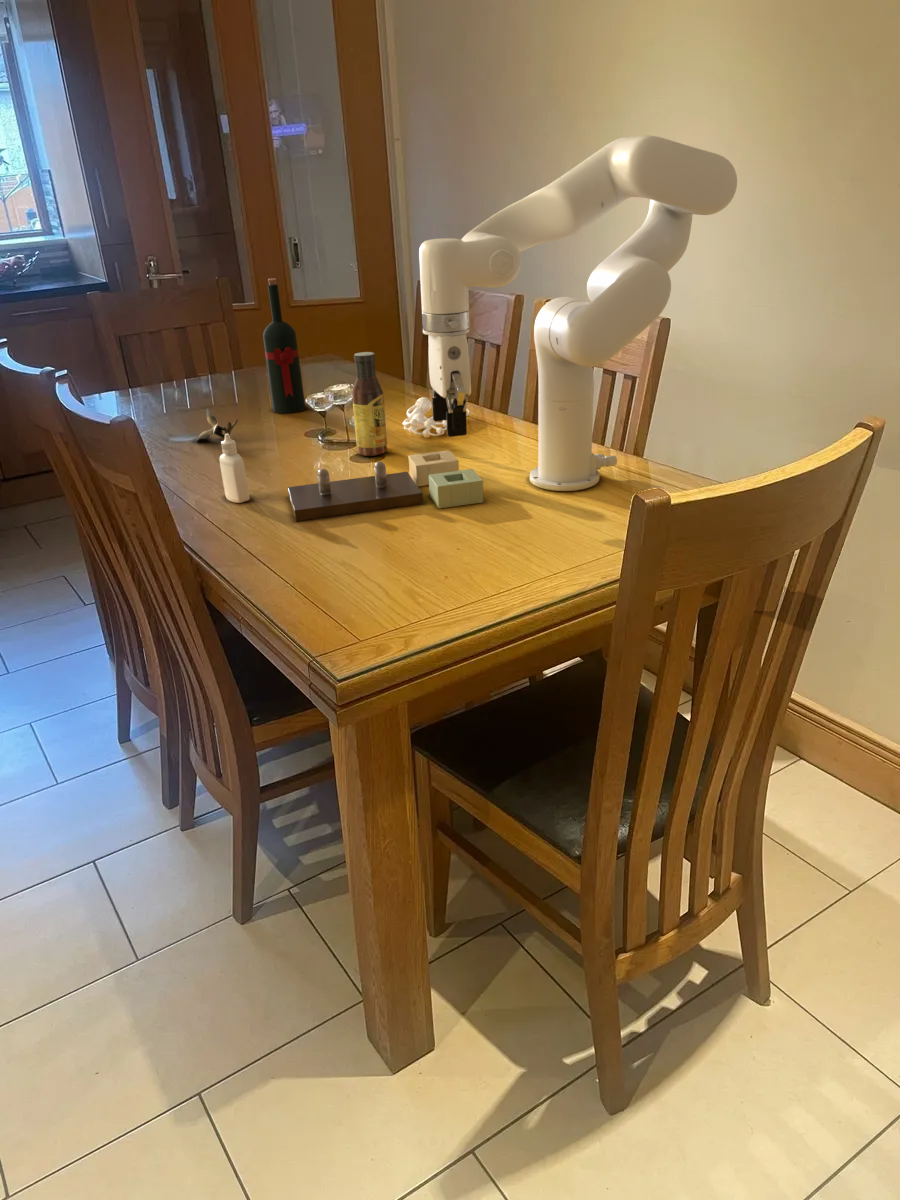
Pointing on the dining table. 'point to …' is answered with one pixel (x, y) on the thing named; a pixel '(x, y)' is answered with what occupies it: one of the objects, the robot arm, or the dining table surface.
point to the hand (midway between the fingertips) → (449, 427)
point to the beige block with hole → (431, 465)
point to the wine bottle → (282, 359)
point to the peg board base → (353, 494)
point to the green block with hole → (456, 488)
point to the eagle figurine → (215, 427)
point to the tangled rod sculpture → (424, 419)
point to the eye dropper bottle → (233, 472)
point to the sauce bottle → (368, 407)
